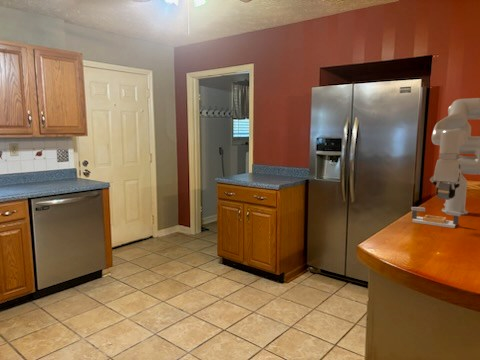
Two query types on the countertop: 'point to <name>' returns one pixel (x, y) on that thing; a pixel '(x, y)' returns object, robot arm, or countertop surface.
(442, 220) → the stand
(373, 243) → the countertop surface
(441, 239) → the countertop surface
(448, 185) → the block
